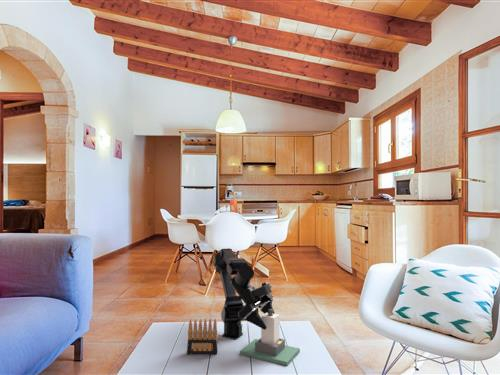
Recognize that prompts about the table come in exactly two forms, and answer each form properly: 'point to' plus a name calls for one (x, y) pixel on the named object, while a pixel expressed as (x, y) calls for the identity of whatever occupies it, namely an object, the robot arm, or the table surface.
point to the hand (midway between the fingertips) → (271, 324)
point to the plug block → (270, 328)
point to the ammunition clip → (202, 339)
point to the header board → (271, 351)
